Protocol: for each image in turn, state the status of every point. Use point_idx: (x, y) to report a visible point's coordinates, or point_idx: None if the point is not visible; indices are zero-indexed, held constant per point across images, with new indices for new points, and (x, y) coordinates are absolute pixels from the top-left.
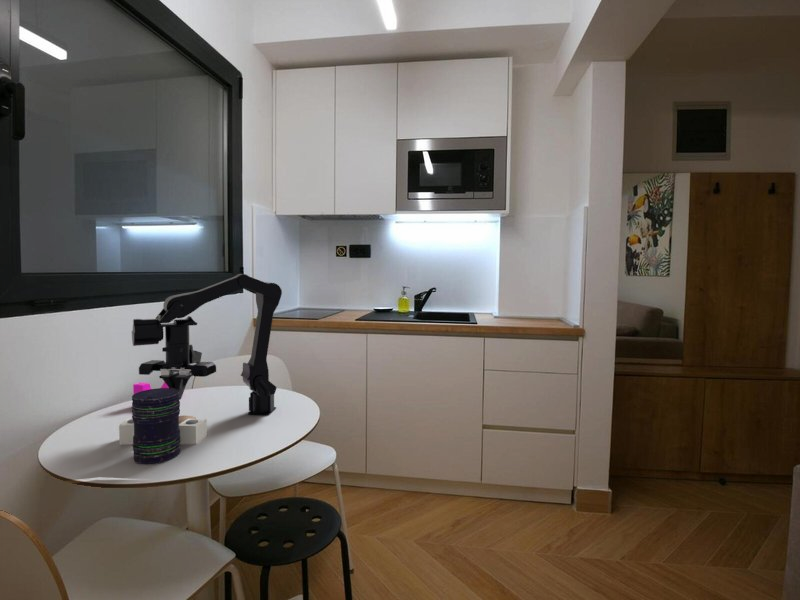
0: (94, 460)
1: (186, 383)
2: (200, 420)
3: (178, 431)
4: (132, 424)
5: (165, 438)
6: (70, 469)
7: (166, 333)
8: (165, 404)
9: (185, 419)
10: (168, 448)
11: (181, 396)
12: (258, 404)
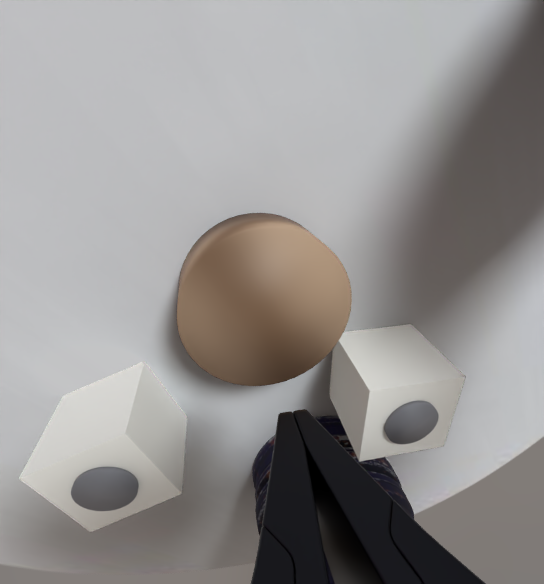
0: (152, 525)
1: (436, 549)
2: (440, 393)
3: (413, 517)
4: (141, 507)
5: None
6: (142, 562)
7: None
8: None
9: (286, 293)
10: None
11: (319, 429)
12: None
